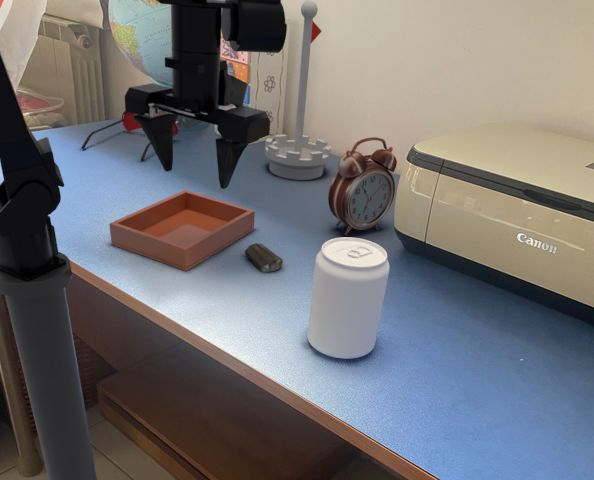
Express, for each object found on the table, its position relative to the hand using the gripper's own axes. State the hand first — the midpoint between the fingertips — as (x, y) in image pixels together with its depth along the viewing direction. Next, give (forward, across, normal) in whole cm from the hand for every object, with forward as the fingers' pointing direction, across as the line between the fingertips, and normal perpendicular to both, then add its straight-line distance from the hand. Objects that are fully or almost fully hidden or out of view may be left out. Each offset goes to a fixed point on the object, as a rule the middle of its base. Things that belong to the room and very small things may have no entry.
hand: (195, 179), depth 78 cm
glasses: (+12, +42, -33) cm, 55 cm away
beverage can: (+12, -27, +7) cm, 30 cm away
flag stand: (+11, +8, -44) cm, 46 cm away
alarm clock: (+11, -14, -25) cm, 31 cm away
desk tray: (+12, +5, -5) cm, 13 cm away
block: (+12, -9, -5) cm, 15 cm away
